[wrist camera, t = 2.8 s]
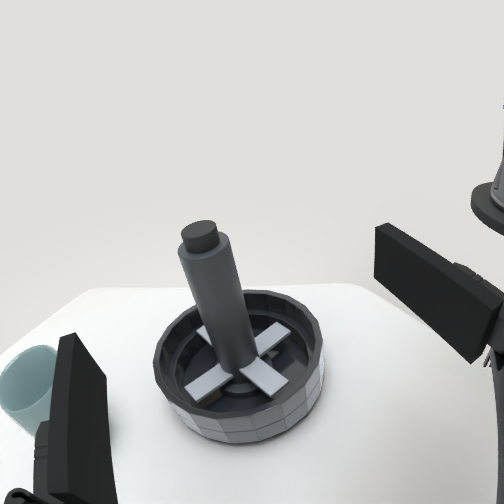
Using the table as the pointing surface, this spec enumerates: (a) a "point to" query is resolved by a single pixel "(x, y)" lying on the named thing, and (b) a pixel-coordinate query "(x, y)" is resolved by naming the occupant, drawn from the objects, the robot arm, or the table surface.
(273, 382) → the blade
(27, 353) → the cup
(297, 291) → the table surface
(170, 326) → the processor bowl
